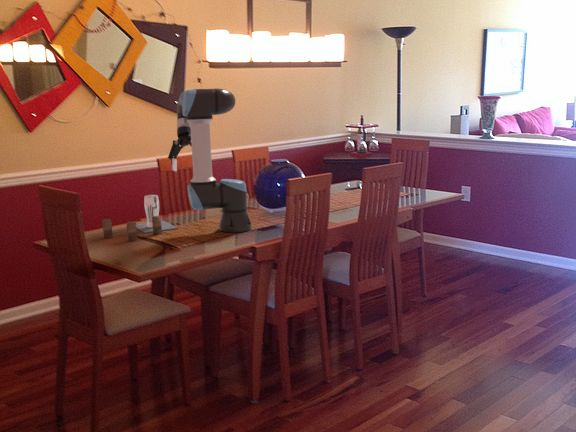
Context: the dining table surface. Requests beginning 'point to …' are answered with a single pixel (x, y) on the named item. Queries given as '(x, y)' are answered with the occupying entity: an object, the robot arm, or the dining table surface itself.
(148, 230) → the slate mat
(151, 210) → the beer glass
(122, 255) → the dining table surface
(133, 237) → the walnut spacer posts
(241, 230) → the robot arm
